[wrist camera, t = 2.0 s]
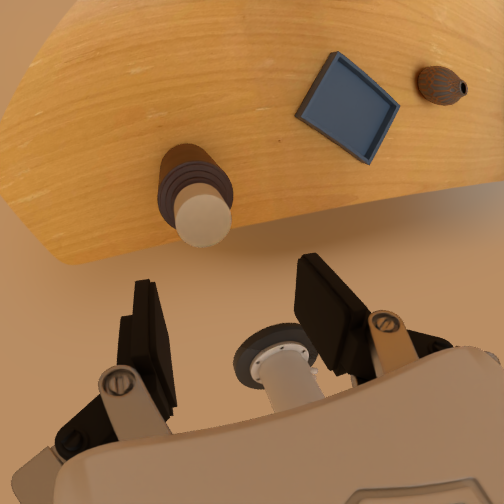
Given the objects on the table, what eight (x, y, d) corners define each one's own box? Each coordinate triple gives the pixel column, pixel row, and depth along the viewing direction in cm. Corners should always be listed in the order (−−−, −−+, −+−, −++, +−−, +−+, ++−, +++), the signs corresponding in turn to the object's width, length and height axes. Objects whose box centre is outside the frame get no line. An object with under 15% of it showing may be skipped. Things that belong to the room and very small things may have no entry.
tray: (392, 104, 38) (400, 105, 36) (361, 162, 41) (369, 165, 40) (330, 52, 32) (338, 51, 31) (294, 116, 36) (300, 117, 34)
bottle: (219, 155, 36) (264, 196, 20) (197, 200, 37) (224, 272, 22) (173, 135, 33) (179, 157, 17) (152, 182, 35) (142, 244, 19)
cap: (232, 194, 22) (242, 207, 20) (210, 236, 24) (217, 254, 21) (186, 174, 21) (189, 185, 18) (166, 219, 22) (166, 236, 19)
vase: (430, 110, 40) (468, 117, 32) (407, 88, 37) (447, 92, 30) (440, 80, 38) (478, 85, 30) (418, 58, 35) (457, 58, 27)
